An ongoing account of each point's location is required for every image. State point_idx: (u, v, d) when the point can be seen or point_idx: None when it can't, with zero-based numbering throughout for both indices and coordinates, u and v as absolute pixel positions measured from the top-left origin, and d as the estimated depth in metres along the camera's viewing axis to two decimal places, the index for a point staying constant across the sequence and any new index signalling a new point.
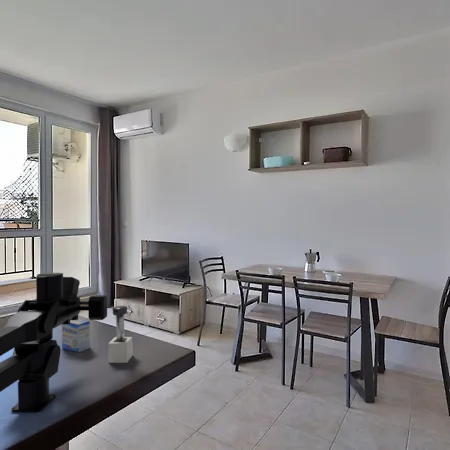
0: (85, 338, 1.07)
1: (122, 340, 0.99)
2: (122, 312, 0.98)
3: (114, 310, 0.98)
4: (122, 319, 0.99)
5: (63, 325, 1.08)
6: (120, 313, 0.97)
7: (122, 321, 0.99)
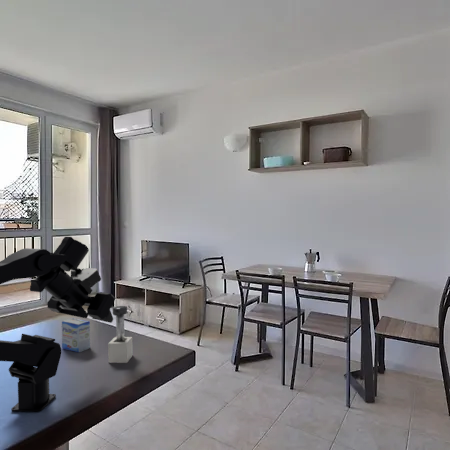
0: (85, 338, 1.07)
1: (122, 340, 0.99)
2: (122, 312, 0.98)
3: (114, 310, 0.98)
4: (122, 319, 0.99)
5: (63, 325, 1.08)
6: (120, 313, 0.97)
7: (122, 321, 0.99)
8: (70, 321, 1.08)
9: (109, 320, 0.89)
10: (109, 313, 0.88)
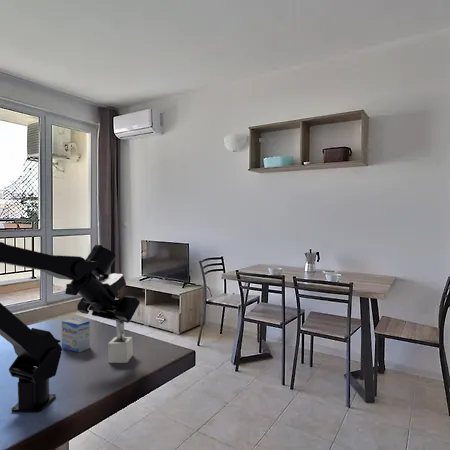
0: (85, 338, 1.07)
1: (122, 340, 0.99)
2: None
3: None
4: None
5: (63, 325, 1.08)
6: None
7: (122, 321, 0.99)
8: (70, 321, 1.08)
9: (126, 320, 0.98)
10: None
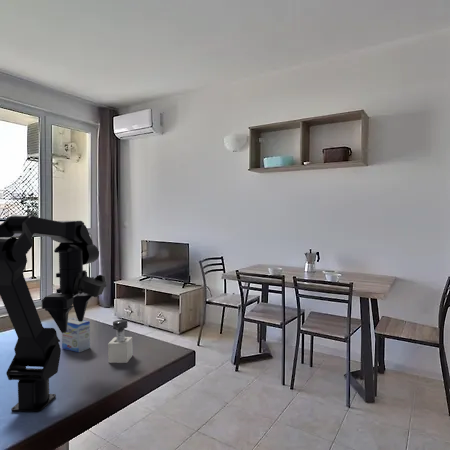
0: (85, 338, 1.07)
1: None
2: (122, 326, 0.98)
3: (114, 324, 0.98)
4: (122, 333, 0.99)
5: None
6: (120, 327, 0.98)
7: (122, 335, 0.99)
8: (70, 321, 1.08)
9: (60, 327, 0.86)
10: (63, 321, 0.86)
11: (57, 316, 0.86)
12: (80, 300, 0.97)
